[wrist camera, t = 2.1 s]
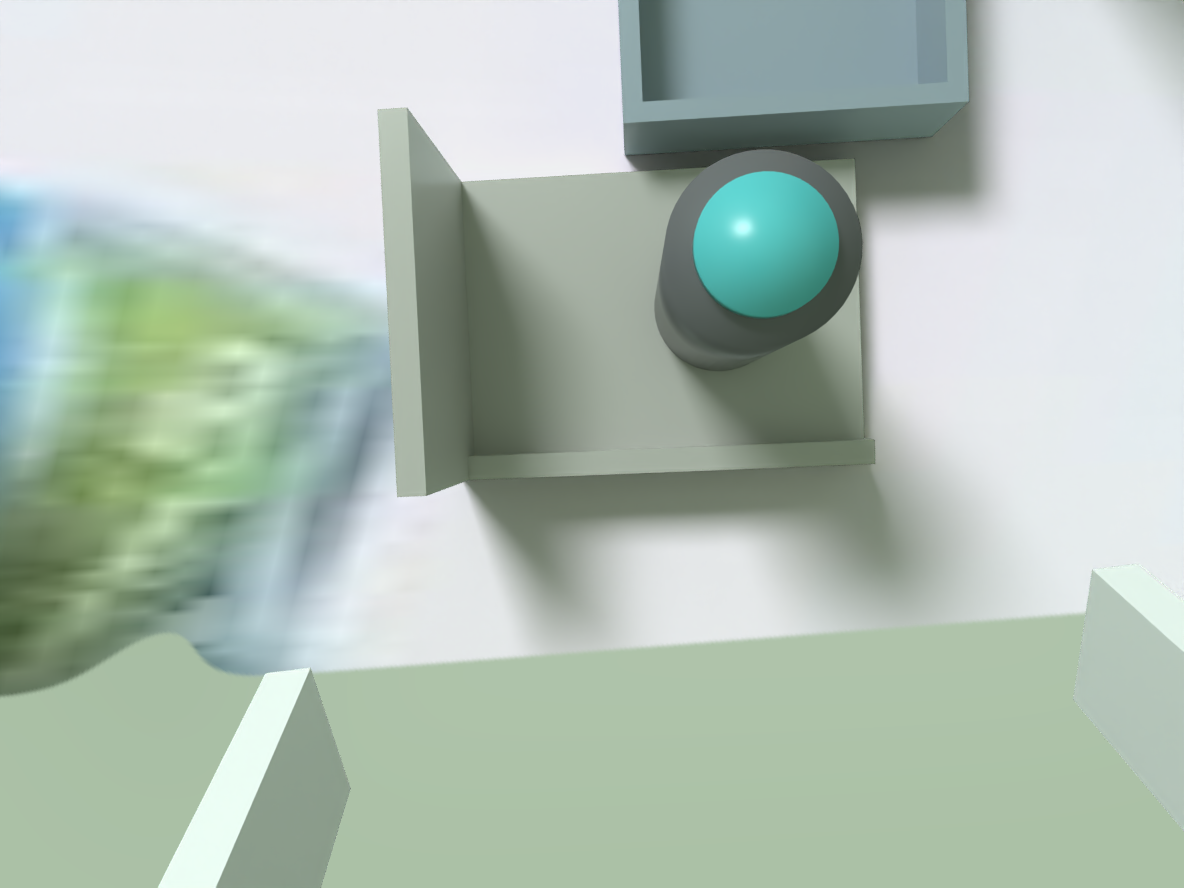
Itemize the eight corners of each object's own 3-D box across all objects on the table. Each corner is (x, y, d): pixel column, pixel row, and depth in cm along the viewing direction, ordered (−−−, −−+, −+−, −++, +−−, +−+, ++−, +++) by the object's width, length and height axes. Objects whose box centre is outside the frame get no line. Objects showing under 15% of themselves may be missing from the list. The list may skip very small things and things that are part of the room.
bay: (460, 476, 37) (397, 497, 27) (446, 192, 37) (377, 109, 27) (855, 460, 36) (938, 475, 26) (845, 169, 36) (926, 73, 26)
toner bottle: (656, 374, 35) (669, 349, 23) (651, 244, 35) (661, 148, 23) (786, 367, 35) (871, 339, 22) (781, 237, 35) (865, 135, 22)
